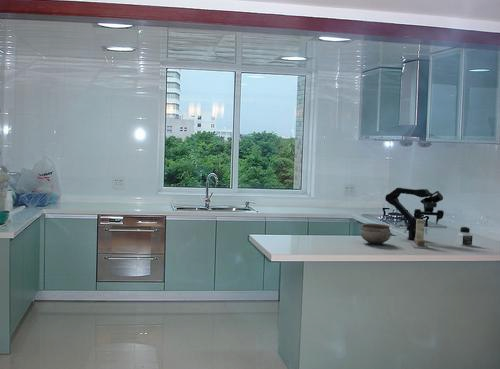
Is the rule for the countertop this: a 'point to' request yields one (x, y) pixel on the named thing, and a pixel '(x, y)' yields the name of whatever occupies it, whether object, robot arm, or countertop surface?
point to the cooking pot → (375, 233)
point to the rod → (420, 229)
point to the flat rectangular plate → (419, 244)
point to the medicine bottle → (464, 237)
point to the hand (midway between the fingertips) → (429, 223)
